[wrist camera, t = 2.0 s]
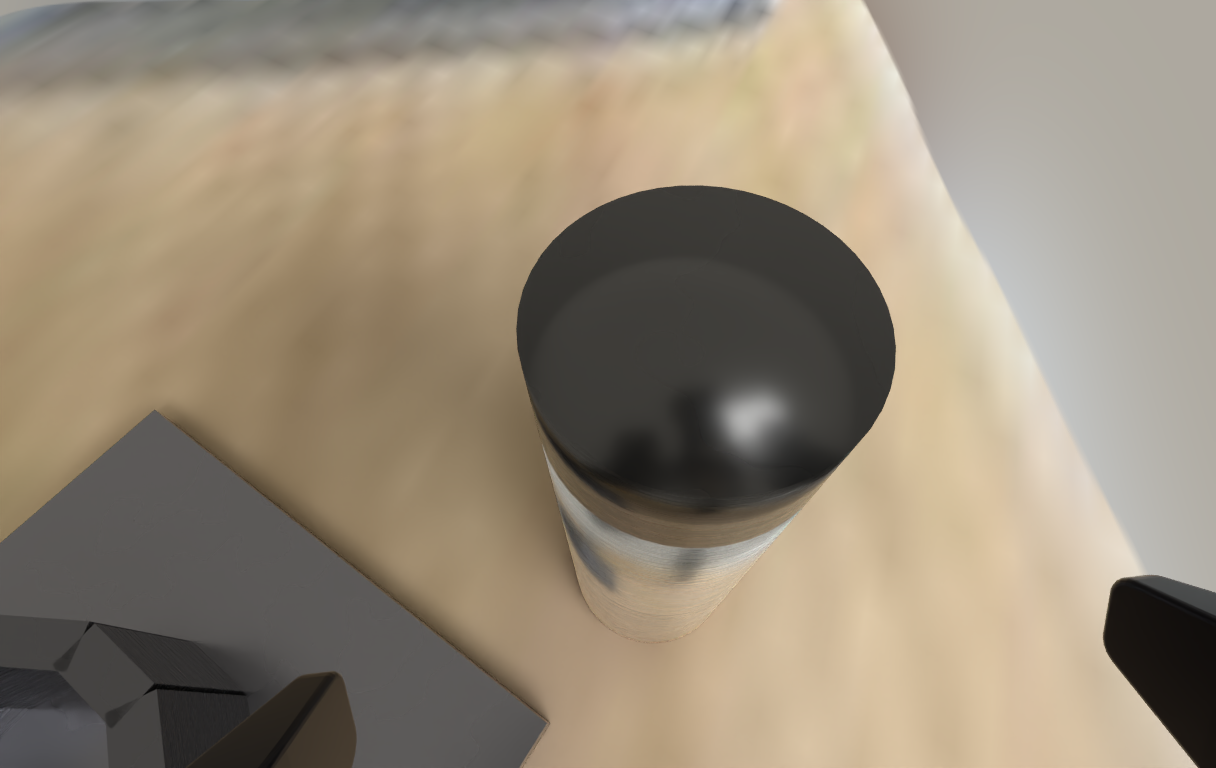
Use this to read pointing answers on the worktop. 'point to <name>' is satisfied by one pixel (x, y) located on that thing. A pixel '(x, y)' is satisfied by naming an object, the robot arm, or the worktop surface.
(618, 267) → the black capped shaker
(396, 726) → the firebox collar
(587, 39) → the worktop surface
